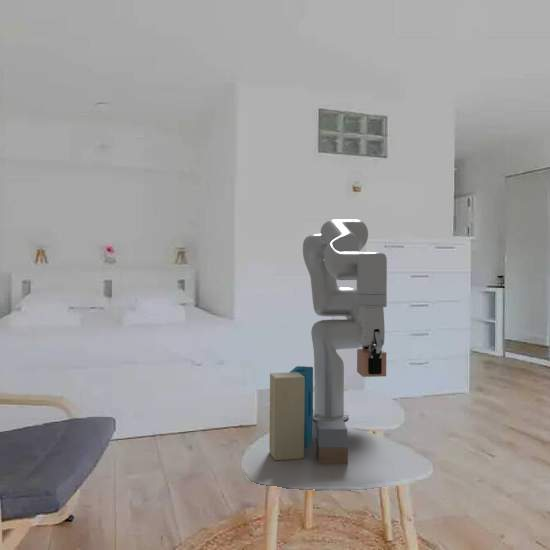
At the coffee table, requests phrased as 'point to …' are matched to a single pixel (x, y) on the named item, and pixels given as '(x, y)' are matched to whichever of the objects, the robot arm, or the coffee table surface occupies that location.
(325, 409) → the robot arm
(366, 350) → the terracotta cube
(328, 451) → the tower bottom
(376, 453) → the coffee table surface
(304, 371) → the block
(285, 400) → the cream box
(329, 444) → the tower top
